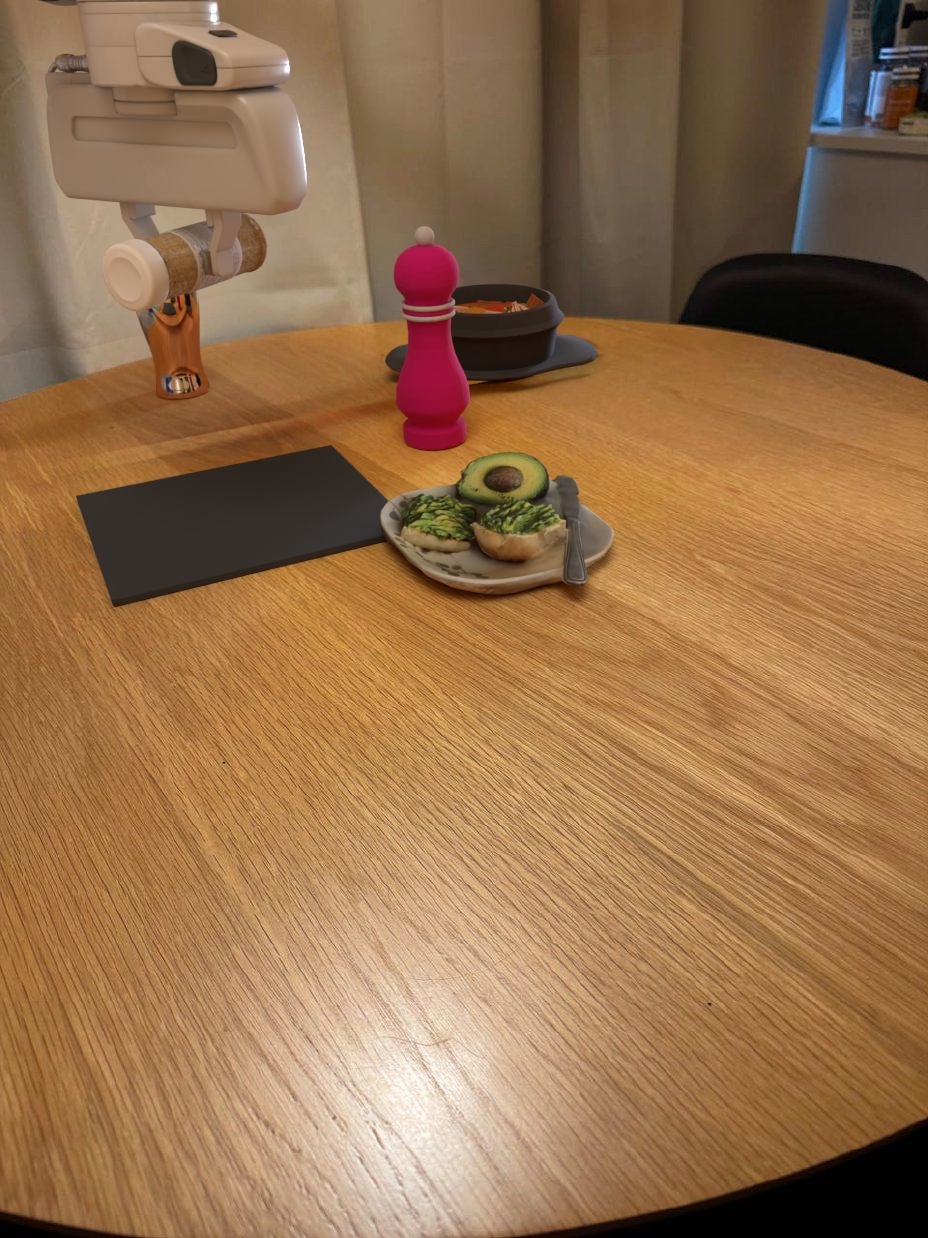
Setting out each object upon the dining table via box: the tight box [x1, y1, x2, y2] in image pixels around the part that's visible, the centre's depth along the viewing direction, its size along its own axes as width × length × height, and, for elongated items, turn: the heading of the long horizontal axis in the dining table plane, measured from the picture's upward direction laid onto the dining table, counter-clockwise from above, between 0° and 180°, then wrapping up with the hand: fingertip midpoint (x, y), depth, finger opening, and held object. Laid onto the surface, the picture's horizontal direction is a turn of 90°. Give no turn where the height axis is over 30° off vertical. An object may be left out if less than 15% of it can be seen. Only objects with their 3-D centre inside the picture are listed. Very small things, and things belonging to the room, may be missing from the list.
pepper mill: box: [393, 225, 471, 451], centre depth 92 cm, size 7×7×20 cm
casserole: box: [384, 283, 598, 385], centre depth 113 cm, size 25×19×8 cm
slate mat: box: [75, 444, 389, 607], centre depth 83 cm, size 24×21×1 cm
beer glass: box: [135, 290, 211, 400], centre depth 109 cm, size 7×7×15 cm
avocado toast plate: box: [380, 451, 615, 595], centre depth 75 cm, size 19×18×5 cm
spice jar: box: [101, 213, 268, 313], centre depth 71 cm, size 5×5×14 cm
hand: (189, 270), depth 72 cm, fingers closed on spice jar, 4 cm apart
